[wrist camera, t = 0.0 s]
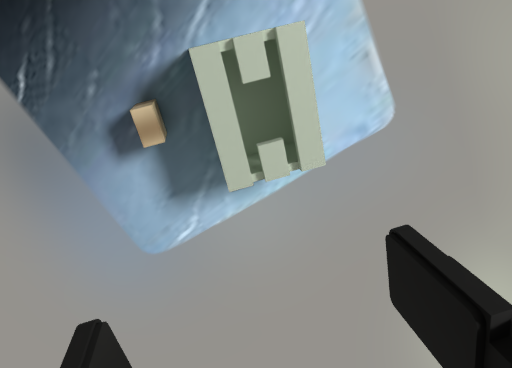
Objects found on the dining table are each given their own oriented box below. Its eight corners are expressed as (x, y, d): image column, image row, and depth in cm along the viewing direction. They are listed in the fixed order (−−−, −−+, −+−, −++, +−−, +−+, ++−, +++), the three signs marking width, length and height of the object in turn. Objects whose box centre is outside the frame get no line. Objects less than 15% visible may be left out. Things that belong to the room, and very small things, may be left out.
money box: (188, 48, 41) (188, 48, 33) (281, 25, 42) (304, 20, 34) (222, 167, 48) (229, 192, 40) (302, 145, 49) (325, 164, 40)
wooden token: (136, 103, 43) (129, 110, 38) (155, 98, 43) (151, 105, 38) (148, 137, 44) (143, 147, 40) (167, 132, 45) (164, 142, 40)
